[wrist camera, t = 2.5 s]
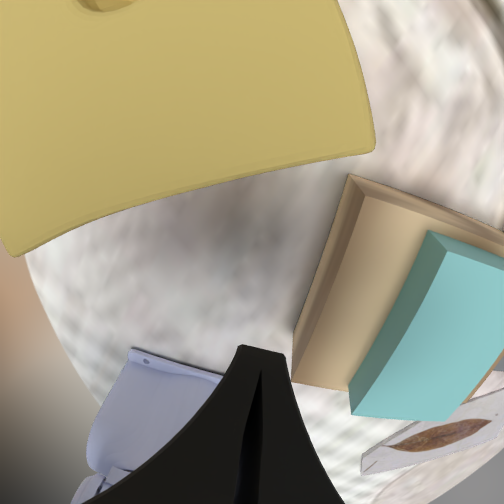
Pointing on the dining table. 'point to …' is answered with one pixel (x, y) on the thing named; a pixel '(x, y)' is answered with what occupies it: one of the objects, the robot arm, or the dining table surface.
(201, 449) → the robot arm
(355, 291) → the block
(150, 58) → the cheese
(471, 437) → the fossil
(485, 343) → the turquoise rectangular block
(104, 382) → the dining table surface
